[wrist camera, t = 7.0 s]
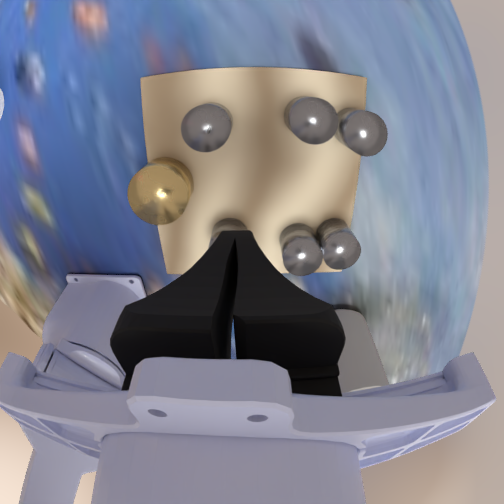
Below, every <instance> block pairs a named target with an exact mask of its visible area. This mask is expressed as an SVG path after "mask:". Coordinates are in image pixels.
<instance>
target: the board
mask: <svg viewBox="0 0 504 504" xmlns="http://www.w3.org/2000/svg"><path fill="white" fill-rule="evenodd" d="M366 85H367V78H365V77H359V76H354V75H347V74H341V73H334V72H326V71H317V70H306V69H293V68H270V67H237V68H215V69H202V70H191V71H182V72H174V73H167V74H160V75H154V76H148V77H143V78H141V95H142V110H143V122H144V133H145V142H146V151H147V160H148V163H149V162H150V161H152V160H154V159H156V158H160V157H170V158H174V159H177V160H179V161H180V162H182V163H183V164H184V165H185V166H186V167H187V168H188V169H189V171H190V172H191V175H192V177H193V182H194V189H193V193H192V196H191V198H190V200H189V202H188V204H187V206H186V209H185V211H184V212H183V214H182V215H181V216H180V217H179V218H178V219H177V220H176V221H174V222H172V223H170V224H166V225H158V230H159V236H160V241H161V246H162V251H163V256H164V260H165V265H166V270H167V274H184V273H185V272H186V271H188V270H189V269H190V268H191V267H192V266H193V265H194V264H195V263H196V262H197V261H198V260H199V259H200V258H201V257H202V256H203V255H204V253H205V252H206V251H207V250H208V247H209V243H210V238H211V234H212V230H213V227H214V225H215V224H216V223H217V222H218V221H220V220H222V219H225V218H235V219H238V220H240V221H242V222H243V223H244V224H245V225H246V227H247V229H248V230H251V231H252V232H253V235H254V238H255V240H256V242H257V243H258V245H259V247H260V248H261V250H262V251H263V253H264V254H265V256H266V257H267V258H268V260H269V261H270V262H271V263H272V264H273V266H274V267H275V268H276V269H277V270H278V271H279V272H280V273H289V272H288V271H287V270H286V269H285V267H284V264H283V258H282V253H281V247H280V242H279V238H280V234H281V232H282V231H283V230H284V229H285V228H286V227H287V226H289V225H291V224H295V223H303V224H306V225H308V226H309V227H311V228H312V230H313V231H314V234H316V230H317V228H318V226H319V225H320V224H321V223H322V222H323V221H325V220H327V219H330V218H339V219H342V220H344V221H345V222H346V223H347V225H348V226H349V228H350V226H351V220H352V214H353V208H354V202H355V196H356V189H357V182H358V175H359V167H360V159H361V155H359V154H357V153H355V152H354V151H352V150H351V149H349V148H348V147H346V146H345V145H343V144H341V143H340V142H339V141H338V140H337V139H336V138H335V136H333V137H332V138H331V139H330V140H329V141H327V142H325V143H322V144H317V145H313V144H308V143H305V142H303V141H301V140H300V139H299V138H298V137H297V136H295V135H294V134H293V133H292V132H291V131H290V130H289V128H288V127H287V125H286V123H285V120H284V111H285V108H286V106H287V105H288V103H289V102H290V101H291V100H293V99H294V98H297V97H300V96H309V97H316V98H321V99H324V100H326V101H327V102H329V103H330V104H331V105H332V106H333V107H334V108H335V110H336V112H337V113H338V112H339V111H340V110H342V109H344V108H356V109H361V110H365V104H366ZM205 103H219V104H221V105H223V106H225V107H226V108H227V109H228V110H229V111H230V113H231V115H232V118H233V127H232V130H231V133H230V135H229V138H228V140H227V141H226V143H225V144H224V145H223V146H222V147H220V148H219V149H217V150H215V151H212V152H199V151H196V150H194V149H192V148H190V147H189V146H188V145H187V144H186V143H185V141H184V140H183V137H182V134H181V123H182V120H183V118H184V116H185V115H186V114H187V113H188V112H189V111H190V110H191V109H193V108H194V107H197V106H199V105H202V104H205ZM341 271H342V270H336V269H332V268H330V267H328V266H327V265H326V263H325V261H324V259H323V261H322V264H321V265H320V267H319V268H318V269H317V270H316V271H315V272H341Z"/></svg>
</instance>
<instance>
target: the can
mask: <svg viewBox="0 0 504 504" xmlns="http://www.w3.org/2000/svg"><path fill="white" fill-rule="evenodd" d="M335 312H336V313H337V315H338V317H339V319H340V321H341V324H342V326H343V329H344V333H345V337H346V340H345V346H344V348H343V351H342V353H341V356H340V359H339V361H338V367H339V371H340V374H339V376H338V380H339V384H340V388H341V393H346V392H353V391H359V390H365V389H371V388H376V387H381V386H386V385H389V382H388V379H387V376H386V373H385V371H384V368H383V365H382V362H381V359H380V357H379V354H378V351H377V349H376V346H375V343H374V341H373V338H372V335H371V333H370V330H369V328H368V325H367V323H366V320H365V318H364V316H363V315H361V314H360V313H359V312H356V311H353V310H346V309H336V310H335Z"/></svg>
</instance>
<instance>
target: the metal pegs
mask: <svg viewBox="0 0 504 504" xmlns="http://www.w3.org/2000/svg"><path fill="white" fill-rule="evenodd" d="M284 120H285V123H286V125H287V127H288V128H289V130H290V131H291V132H292V133H293V134H294V135H295V136H297V137H298V138H299V139H300V140H301V141H303V142H305V143H308V144H313V145H317V144H322V143H325V142H327V141H329V140H330V139H331V138H332V137H333V136H335V138H336V139H337V140H338V141H339V142H340V143H341V144H343V145H345V146H346V147H348V148H349V149H351V150H352V151H354V152H355V153H357V154H359V155H361V156H373V155H375V154H377V153H378V152H380V151H381V150H382V149H383V147H384V146H385V144H386V141H387V128H386V125H385V123H384V121H383V120H382V119H381V118H380V117H379V116H378V115H376V114H375V113H372V112H368V111H365V110H361V109H356V108H344V109H342V110H340V111H339V112H338V113H337V112H336V110H335V108H334V107H333V106H332V105H331V104H330V103H329V102H327V101H326V100H324V99H321V98H316V97H309V96H300V97H297V98H294V99H293V100H291V101H290V102H289V103H288V105H287V106H286V108H285V111H284ZM232 127H233V118H232V115H231V113H230V111H229V110H228V109H227V108H226V107H225V106H223V105H221V104H219V103H205V104H202V105H199V106H197V107H194V108H193V109H191V110H190V111H189V112H188V113H187V114H186V115H185V116H184V118H183V120H182V123H181V134H182V137H183V140H184V141H185V143H186V144H187V145H188V146H189V147H190V148H192V149H194V150H196V151H199V152H212V151H215V150H217V149H219V148H220V147H222V146H223V145H224V144H225V143H226V141H227V140H228V138H229V135H230V133H231V130H232ZM232 230H248V229H247V227H246V225H245V224H244V223H243V222H242V221H240V220H238V219H235V218H225V219H222V220H220V221H218V222H217V223H216V224H215V225H214V227H213V230H212V234H211V238H210V243H209V247H210V246H211V245H212V244H213V242H214V241H215V240H216V238H217V237H218V235H219V234H220V233H221V232H222V231H232ZM279 242H280V247H281V253H282V258H283V264H284V267H285V269H286V270H287V271H288V272H289V273H291V274H293V275H297V276H305V275H309V274H311V273H313V272H315V271H316V270H317V269H318V268H319V267H320V265H321V264H322V261H323V259H324V261H325V263H326V265H327V266H328V267H330V268H332V269H336V270H342V269H346V268H348V267H350V266H352V265H353V264H354V263H355V262H356V261H357V260H358V258H359V256H360V253H361V247H360V244H359V242H358V241H357V239H356V237H355V236H354V234H353V233H352V231H351V229H350V228H349V226H348V225H347V223H346V222H345V221H344V220H342V219H339V218H330V219H327V220H325V221H323V222H322V223H321V224H320V225H319V226H318V228H317V230H316V234H314V231H313V230H312V228H311V227H309V226H308V225H306V224H303V223H295V224H291V225H289V226H287V227H286V228H285V229H284V230H283V231H282V232H281V234H280V238H279ZM209 247H208V249H209Z"/></svg>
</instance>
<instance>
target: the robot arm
mask: <svg viewBox="0 0 504 504" xmlns="http://www.w3.org/2000/svg"><path fill="white" fill-rule="evenodd" d="M76 278H77V279H76ZM66 280H67V282H68V285H67V286H66V288H65V289H64V291H63V292H62V294H61V295H60V297H59V298H58V300H57V302H56V303H55V305H54V306H53V308H52V310H51V311H50V313H49V314H48V316H47V318H46V320H45V323H44V327H43V334H42V338H43V345H42V346H41V348H40V350H39V352H38V354H37V356H36V358H35V360H34V362H33V363H32V362H31V361H30V360H28V359H27V358H26V357H24V356H20V355H17V354H15V353H11V352H9V353H8V355H7V357H6V359H5V361H4V362H3V364H2V366H1V368H0V408H1V409H2V410H4V411H5V412H6V413H7V414H8V415H9V416H11V417H12V418H13V419H14V420H16V421H17V422H18V423H19V425H20V427H21V428H22V430H23V432H24V433H25V435H26V437H27V438H28V440H29V442H30V443H31V445H32V447H33V452H32V455H31V458H30V461H29V465H28V468H27V472H26V475H25V479H24V483H23V487H22V491H21V496H20V501H19V504H73V502H74V499H75V495H76V492H77V488H78V486H79V482H80V479H81V476H82V475H83V474H86V473H90V472H95V471H97V472H96V477H95V483H94V489H93V495H92V501H91V504H366V500H365V493H364V487H363V481H362V475H361V470H360V469H361V468H365V467H368V466H371V465H375V464H378V463H381V462H384V461H387V460H390V459H393V458H396V457H399V456H401V455H404V454H406V453H409V452H411V451H414V450H416V449H419V448H421V447H423V446H426V445H428V444H431V443H433V442H435V441H437V440H440V439H442V438H444V437H446V436H449V435H451V434H453V433H455V432H457V431H459V430H461V429H463V428H464V427H465V426H467V425H468V424H469V423H470V422H472V421H473V420H474V419H475V418H477V417H478V416H479V415H480V414H481V413H482V412H484V411H485V410H486V409H487V408H488V407H489V406H490V405H491V404H492V403H494V402H495V400H496V397H495V395H494V392H493V390H492V388H491V386H490V384H489V382H488V380H487V377H486V375H485V373H484V371H483V369H482V367H481V365H480V364H479V362H478V360H477V358H476V356H475V354H474V352H471V353H468V354H465V355H462V356H458V357H456V358H454V359H452V360H451V361H449V362H448V363H447V365H446V366H445V367H444V369H443V371H442V372H439V373H435V374H432V375H428V376H424V377H420V378H417V379H413V380H409V381H404V382H400V383H396V384H391V385H386V386H381V387H376V388H371V389H365V390H359V391H353V392H346V393H341V388H340V384H339V380H338V376H339V374H340V371H339V367H338V361H339V359H340V356H341V353H342V351H343V348H344V346H345V340H346V337H345V333H344V329H343V326H342V324H341V321H340V319H339V317H338V315H337V313H336V312H335V310H334V308H333V306H332V305H330V304H328V303H326V302H324V301H322V300H320V299H317V298H315V297H313V296H312V295H310V294H308V293H306V292H305V291H303V290H301V289H300V288H298V287H297V286H296V285H294V284H293V283H292V282H290V281H289V280H288V279H286V278H285V277H284V276H283V275H282V274H281V273H280V272H279V271H278V270H277V269H276V268H275V267H274V266H273V264H272V263H271V262H270V261H269V260H268V258H267V257H266V256H265V254H264V253H263V251H262V250H261V248H260V247H259V245H258V243H257V242H256V240H255V238H254V235H253V232H252V231H251V230H232V231H222V232H221V233H220V234H219V235H218V237H217V238H216V240H215V241H214V242H213V244H212V245H211V246H210V247H209V249H208V250H207V251H206V252H205V253H204V255H203V256H202V257H201V258H200V259H199V260H198V261H197V262H196V263H195V264H194V265H193V266H192V267H191V268H190V269H189V270H188V271H186V272H185V273H184V274H183V275H181V276H180V277H179V278H177V279H176V280H174V281H173V282H171V283H170V284H168V285H167V286H165V287H164V288H162V289H160V290H159V291H157V292H155V293H153V294H151V295H149V296H146V293H145V290H144V286H143V283H142V280H141V278H140V277H139V276H135V275H87V274H68V275H67V276H66ZM131 280H133V281H131ZM233 320H234V333H235V346H236V358H237V359H231V332H232V322H233Z"/></svg>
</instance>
